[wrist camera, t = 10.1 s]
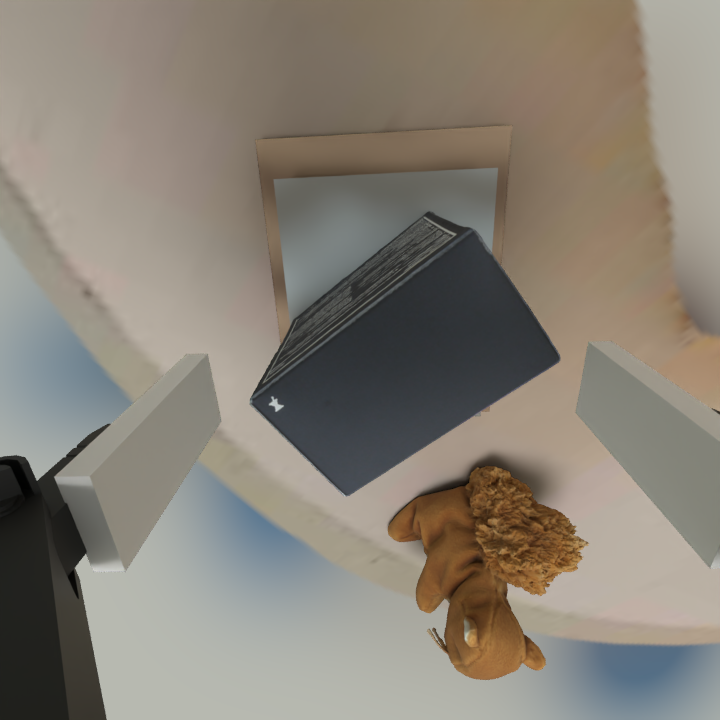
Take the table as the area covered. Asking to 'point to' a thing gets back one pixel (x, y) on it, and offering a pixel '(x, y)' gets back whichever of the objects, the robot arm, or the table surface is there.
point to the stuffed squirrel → (486, 565)
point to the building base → (377, 163)
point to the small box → (401, 354)
